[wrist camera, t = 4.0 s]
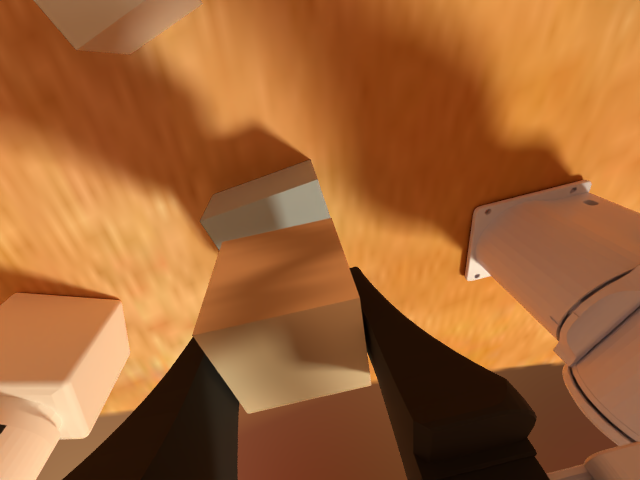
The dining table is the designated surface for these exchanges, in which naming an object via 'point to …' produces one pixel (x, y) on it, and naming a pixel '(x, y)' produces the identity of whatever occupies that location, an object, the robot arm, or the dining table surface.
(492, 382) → the robot arm
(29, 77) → the dining table surface
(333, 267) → the maple cube
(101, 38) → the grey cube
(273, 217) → the slate block
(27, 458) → the medicine bottle
